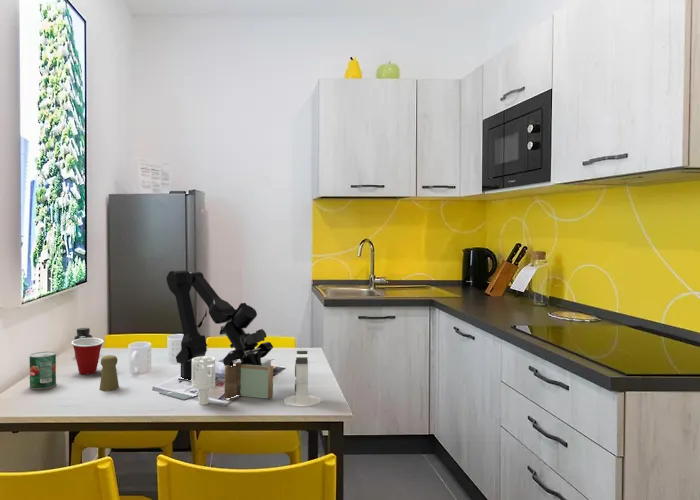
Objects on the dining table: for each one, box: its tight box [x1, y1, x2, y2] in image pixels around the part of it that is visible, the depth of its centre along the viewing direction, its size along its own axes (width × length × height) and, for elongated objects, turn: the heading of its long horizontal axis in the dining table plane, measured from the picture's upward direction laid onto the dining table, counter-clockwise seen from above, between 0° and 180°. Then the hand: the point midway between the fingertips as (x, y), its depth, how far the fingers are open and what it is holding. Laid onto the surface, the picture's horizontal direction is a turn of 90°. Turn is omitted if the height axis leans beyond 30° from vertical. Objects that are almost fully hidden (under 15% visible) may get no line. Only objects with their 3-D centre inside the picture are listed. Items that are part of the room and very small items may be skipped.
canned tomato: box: [29, 351, 57, 390], centre depth 191 cm, size 8×8×11 cm
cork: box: [99, 354, 120, 392], centre depth 190 cm, size 6×6×11 cm
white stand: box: [283, 350, 321, 408], centre depth 179 cm, size 12×11×15 cm
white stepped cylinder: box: [191, 355, 216, 406], centre depth 175 cm, size 7×7×15 cm
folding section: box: [240, 364, 274, 400], centre depth 182 cm, size 2×11×10 cm, turn 75°
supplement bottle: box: [73, 327, 94, 359], centre depth 232 cm, size 7×7×12 cm
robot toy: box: [233, 357, 275, 366], centre depth 215 cm, size 12×4×15 cm
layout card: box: [158, 390, 193, 401], centre depth 185 cm, size 12×9×1 cm
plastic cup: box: [71, 337, 104, 375], centre depth 209 cm, size 11×11×12 cm
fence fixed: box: [224, 362, 241, 399], centre depth 181 cm, size 2×6×11 cm, turn 147°
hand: (261, 375), depth 184 cm, fingers closed
